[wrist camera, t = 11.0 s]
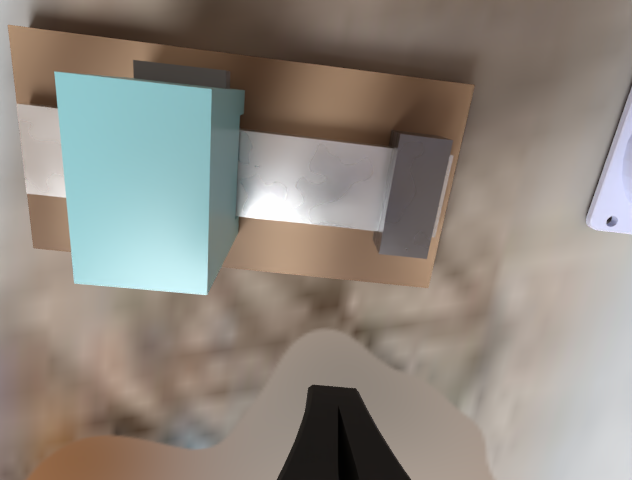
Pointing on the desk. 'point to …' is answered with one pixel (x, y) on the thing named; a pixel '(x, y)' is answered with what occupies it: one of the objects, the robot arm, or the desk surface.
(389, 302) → the desk surface
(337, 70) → the mounting board
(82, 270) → the block
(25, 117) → the rail
